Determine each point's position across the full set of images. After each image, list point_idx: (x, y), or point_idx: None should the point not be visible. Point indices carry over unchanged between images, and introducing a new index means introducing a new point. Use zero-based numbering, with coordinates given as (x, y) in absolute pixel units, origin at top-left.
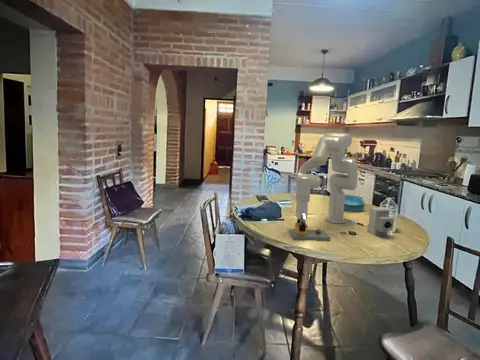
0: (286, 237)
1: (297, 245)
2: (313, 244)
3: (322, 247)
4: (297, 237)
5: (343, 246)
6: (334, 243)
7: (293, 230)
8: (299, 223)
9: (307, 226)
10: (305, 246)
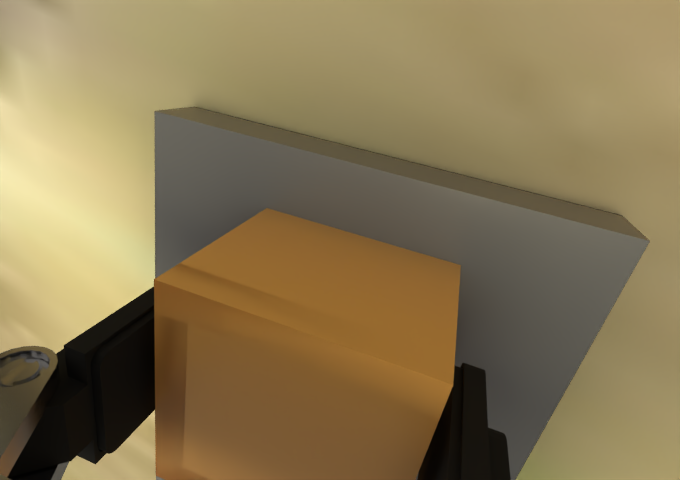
0: (333, 28)
1: (16, 74)
2: (78, 281)
3: (18, 315)
4: (162, 168)
5: (71, 473)
6: (127, 464)
7: (509, 268)
8: (349, 447)
9: (162, 463)
10: (7, 163)
